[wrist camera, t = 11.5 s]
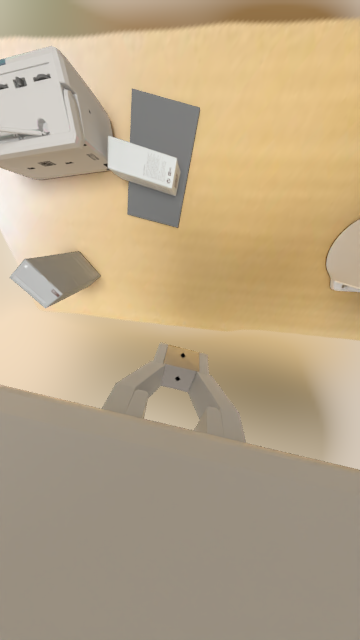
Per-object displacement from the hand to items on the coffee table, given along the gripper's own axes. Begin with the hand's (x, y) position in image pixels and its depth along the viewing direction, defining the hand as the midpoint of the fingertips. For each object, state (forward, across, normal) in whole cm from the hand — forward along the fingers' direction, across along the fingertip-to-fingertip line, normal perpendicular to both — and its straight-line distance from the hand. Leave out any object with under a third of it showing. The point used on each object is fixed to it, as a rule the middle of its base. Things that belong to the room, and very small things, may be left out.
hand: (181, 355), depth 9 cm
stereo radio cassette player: (+34, +31, -15) cm, 48 cm away
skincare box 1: (+34, +30, +9) cm, 46 cm away
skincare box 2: (+31, +7, -14) cm, 35 cm away
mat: (+34, +12, -16) cm, 40 cm away
